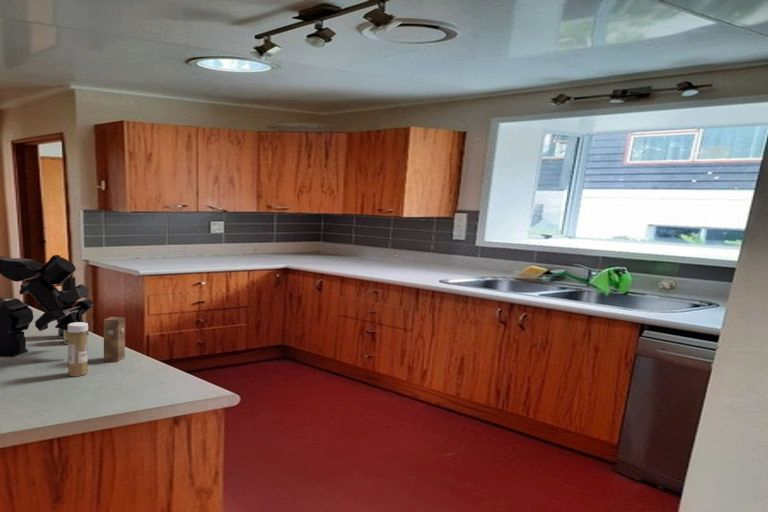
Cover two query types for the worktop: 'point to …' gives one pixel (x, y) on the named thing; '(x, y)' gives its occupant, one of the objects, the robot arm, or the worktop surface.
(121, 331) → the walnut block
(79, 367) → the sprinkles bottle
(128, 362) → the worktop surface
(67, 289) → the lotion bottle
